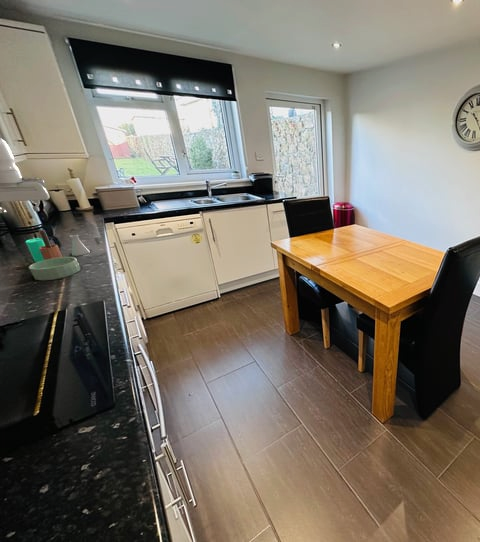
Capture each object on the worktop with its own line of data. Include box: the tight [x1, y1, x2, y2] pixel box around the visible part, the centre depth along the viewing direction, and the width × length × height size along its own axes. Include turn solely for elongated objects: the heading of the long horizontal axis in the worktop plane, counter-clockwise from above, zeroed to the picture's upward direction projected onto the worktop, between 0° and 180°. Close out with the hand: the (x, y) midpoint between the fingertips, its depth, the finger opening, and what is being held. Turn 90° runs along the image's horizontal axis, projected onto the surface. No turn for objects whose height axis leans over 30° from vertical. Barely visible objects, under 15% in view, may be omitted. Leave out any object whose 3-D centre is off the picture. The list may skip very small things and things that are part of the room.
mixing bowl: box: [28, 256, 81, 281], centre depth 121 cm, size 14×14×6 cm
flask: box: [69, 234, 91, 256], centre depth 142 cm, size 7×7×10 cm
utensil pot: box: [39, 244, 63, 260], centre depth 129 cm, size 6×6×9 cm
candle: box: [25, 236, 45, 263], centre depth 133 cm, size 6×6×12 cm
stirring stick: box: [38, 229, 52, 248], centre depth 128 cm, size 3×2×16 cm
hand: (20, 212), depth 119 cm, fingers open, 8 cm apart
